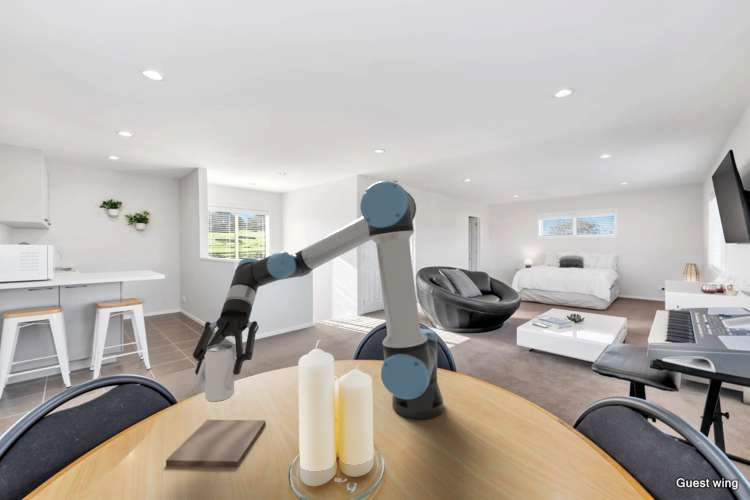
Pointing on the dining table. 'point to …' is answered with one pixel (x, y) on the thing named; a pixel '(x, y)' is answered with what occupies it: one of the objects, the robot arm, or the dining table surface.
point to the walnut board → (217, 443)
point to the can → (218, 372)
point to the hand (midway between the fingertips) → (212, 388)
